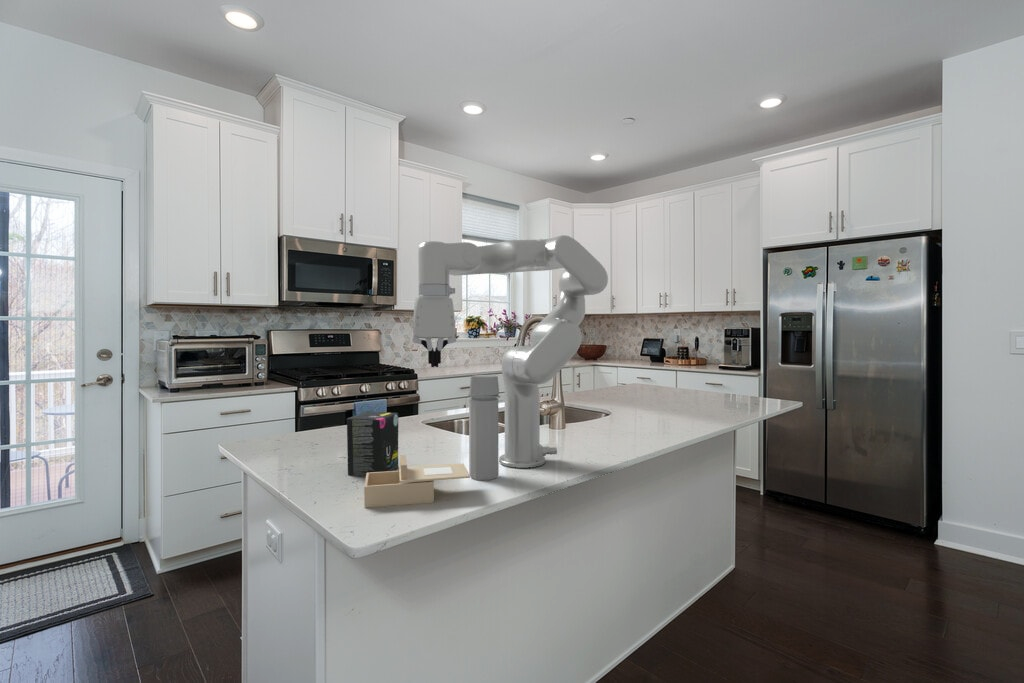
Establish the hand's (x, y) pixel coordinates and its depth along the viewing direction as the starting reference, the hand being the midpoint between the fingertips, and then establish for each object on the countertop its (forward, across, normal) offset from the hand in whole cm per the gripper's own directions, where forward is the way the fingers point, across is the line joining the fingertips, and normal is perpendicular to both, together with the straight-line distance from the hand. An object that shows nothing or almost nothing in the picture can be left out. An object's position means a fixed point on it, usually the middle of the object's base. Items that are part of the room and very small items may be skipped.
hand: (434, 366), depth 127 cm
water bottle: (+27, -12, +5) cm, 30 cm away
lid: (+22, +2, +16) cm, 27 cm away
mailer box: (+27, +9, +16) cm, 33 cm away
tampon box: (+27, +15, -6) cm, 32 cm away
